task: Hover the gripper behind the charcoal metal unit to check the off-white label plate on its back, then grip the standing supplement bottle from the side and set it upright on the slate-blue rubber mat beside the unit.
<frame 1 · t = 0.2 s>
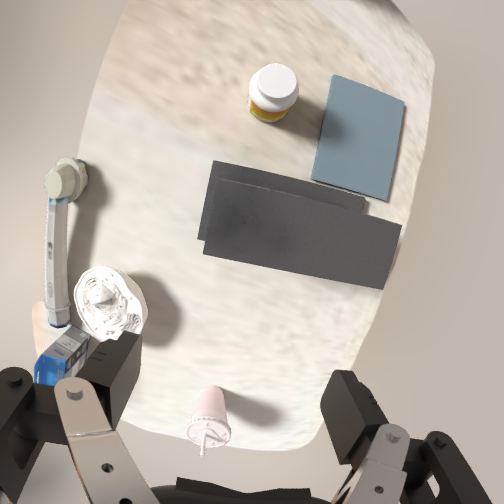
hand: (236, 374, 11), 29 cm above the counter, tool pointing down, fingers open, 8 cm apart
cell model: (121, 296, 41), on the counter
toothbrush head: (67, 243, 39), on the counter
mounted unit: (282, 215, 39), on the counter
supplement bottle: (268, 104, 36), on the counter
label tape box: (77, 348, 43), on the counter
smoothie: (212, 392, 45), on the counter
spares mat: (359, 137, 37), on the counter
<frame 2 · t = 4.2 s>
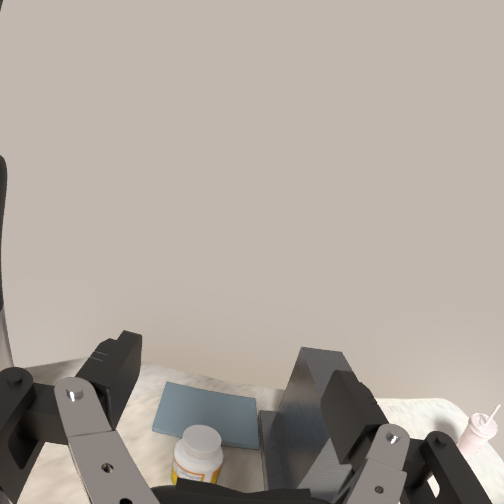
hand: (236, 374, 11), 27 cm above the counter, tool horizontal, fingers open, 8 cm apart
mounted unit: (296, 464, 34), on the counter
supplement bottle: (192, 482, 28), on the counter
smoothie: (454, 463, 33), on the counter
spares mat: (207, 417, 40), on the counter
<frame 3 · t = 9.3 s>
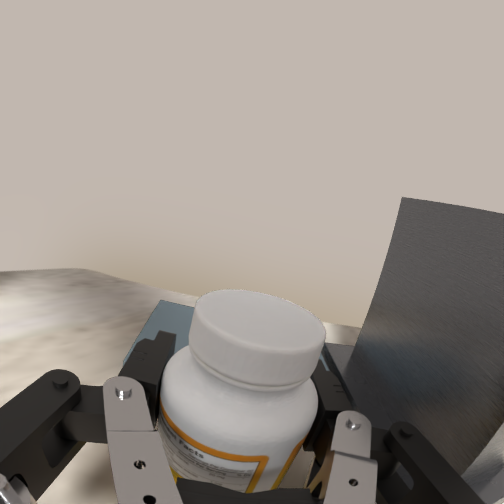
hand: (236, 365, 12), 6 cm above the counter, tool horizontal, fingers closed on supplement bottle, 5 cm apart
mounted unit: (408, 427, 17), on the counter
supplement bottle: (211, 488, 11), on the counter, touching gripper
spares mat: (233, 355, 24), on the counter
when the fingers open (8 cm above the counter, at t = 14.8 s): supplement bottle drops 1 cm, resting on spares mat.
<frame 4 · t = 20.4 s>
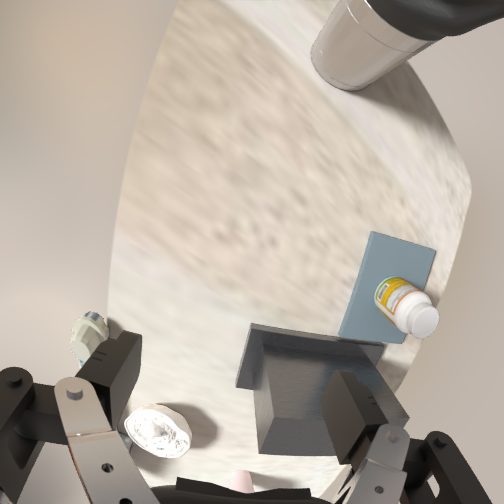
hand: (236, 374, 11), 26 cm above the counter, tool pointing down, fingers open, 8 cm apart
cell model: (163, 416, 43), on the counter
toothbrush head: (102, 377, 41), on the counter
mounted unit: (310, 363, 41), on the counter
supplement bottle: (389, 293, 38), point 1 cm above the counter, touching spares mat
label tape box: (121, 444, 45), on the counter
smoothie: (241, 473, 47), on the counter
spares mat: (388, 291, 39), on the counter
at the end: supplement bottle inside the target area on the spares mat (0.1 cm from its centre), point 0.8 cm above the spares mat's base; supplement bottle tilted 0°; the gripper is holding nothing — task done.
